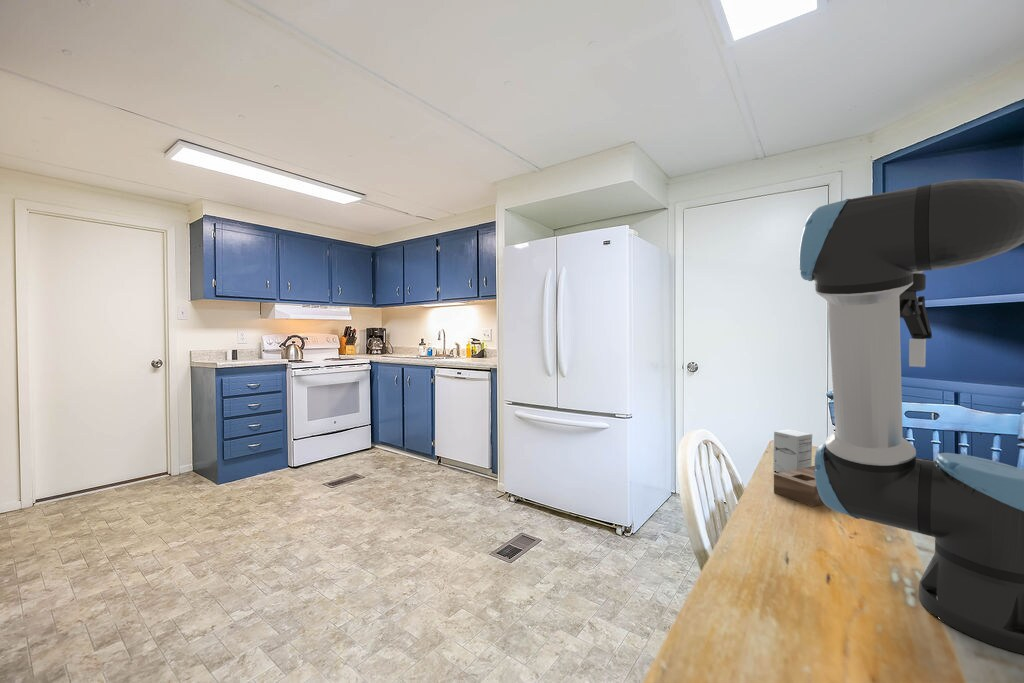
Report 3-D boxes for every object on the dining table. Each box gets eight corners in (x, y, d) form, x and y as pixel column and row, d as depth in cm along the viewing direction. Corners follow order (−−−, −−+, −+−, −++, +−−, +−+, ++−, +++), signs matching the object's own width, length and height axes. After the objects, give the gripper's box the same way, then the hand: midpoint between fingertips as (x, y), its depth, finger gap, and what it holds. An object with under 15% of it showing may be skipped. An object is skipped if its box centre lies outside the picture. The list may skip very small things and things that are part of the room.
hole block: (813, 506, 102) (813, 486, 102) (773, 492, 112) (774, 473, 112) (856, 495, 110) (856, 476, 109) (816, 482, 119) (816, 465, 119)
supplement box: (772, 471, 129) (772, 430, 128) (787, 468, 132) (787, 428, 132) (797, 479, 122) (797, 436, 122) (812, 475, 125) (813, 433, 125)
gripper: (892, 268, 86) (890, 371, 87) (952, 275, 96) (950, 367, 97) (851, 273, 93) (849, 368, 94) (911, 279, 103) (909, 364, 103)
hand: (901, 367), depth 95 cm, fingers open, 13 cm apart
